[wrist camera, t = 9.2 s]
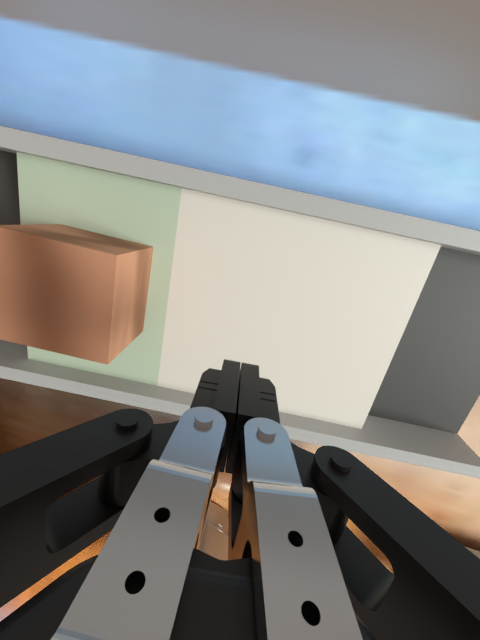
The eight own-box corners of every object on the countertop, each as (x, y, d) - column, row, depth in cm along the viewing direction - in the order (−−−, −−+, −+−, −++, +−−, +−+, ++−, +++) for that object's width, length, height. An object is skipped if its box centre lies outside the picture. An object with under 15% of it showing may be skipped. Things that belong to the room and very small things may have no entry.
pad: (191, 192, 19) (181, 188, 17) (167, 369, 24) (157, 385, 21) (46, 160, 19) (16, 152, 17) (50, 345, 24) (27, 358, 21)
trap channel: (554, 255, 19) (626, 263, 15) (448, 439, 24) (483, 479, 21) (-88, 114, 19) (-176, 87, 15) (-54, 333, 24) (-112, 354, 20)
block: (153, 246, 18) (116, 255, 13) (143, 331, 20) (107, 364, 15) (61, 224, 18) (-9, 225, 13) (59, 311, 20) (-2, 339, 15)
